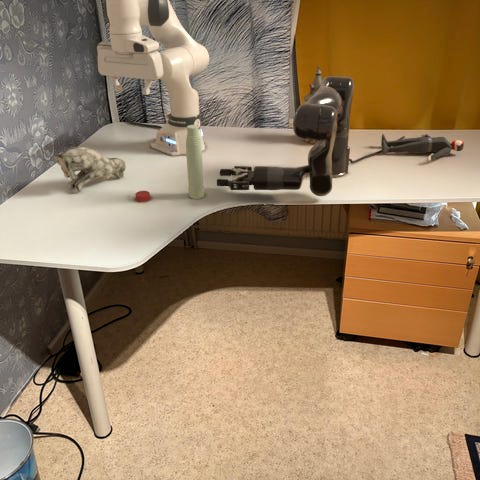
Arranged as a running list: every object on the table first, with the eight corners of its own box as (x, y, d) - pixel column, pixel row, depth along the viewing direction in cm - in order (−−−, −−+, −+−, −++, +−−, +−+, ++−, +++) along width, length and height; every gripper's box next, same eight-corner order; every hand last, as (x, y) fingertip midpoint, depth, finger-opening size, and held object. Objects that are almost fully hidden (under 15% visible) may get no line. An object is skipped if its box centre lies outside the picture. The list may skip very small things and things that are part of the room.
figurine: (92, 206, 176) (137, 172, 185) (60, 158, 168) (108, 124, 176) (80, 204, 184) (124, 171, 193) (49, 157, 175) (96, 125, 184)
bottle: (186, 194, 175) (181, 125, 164) (199, 191, 178) (195, 123, 166) (193, 200, 172) (189, 129, 160) (206, 196, 174) (203, 127, 163)
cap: (136, 202, 171) (135, 197, 170) (135, 196, 175) (135, 191, 174) (150, 201, 172) (150, 195, 171) (149, 195, 176) (149, 189, 175)
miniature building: (320, 132, 228) (325, 59, 214) (338, 142, 217) (344, 66, 203) (293, 137, 224) (296, 63, 209) (310, 147, 213) (314, 69, 198)
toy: (381, 127, 217) (459, 127, 211) (380, 142, 220) (457, 142, 214) (382, 148, 195) (470, 149, 189) (381, 165, 198) (468, 166, 192)
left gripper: (89, 42, 151) (96, 92, 158) (151, 47, 144) (156, 98, 151) (103, 39, 156) (109, 87, 163) (163, 43, 149) (167, 93, 156)
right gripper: (269, 159, 175) (220, 158, 176) (268, 175, 162) (215, 174, 164) (269, 180, 178) (221, 179, 180) (267, 198, 166) (215, 197, 167)
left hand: (132, 92), depth 157 cm, fingers open, 8 cm apart
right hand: (218, 177), depth 172 cm, fingers open, 8 cm apart
